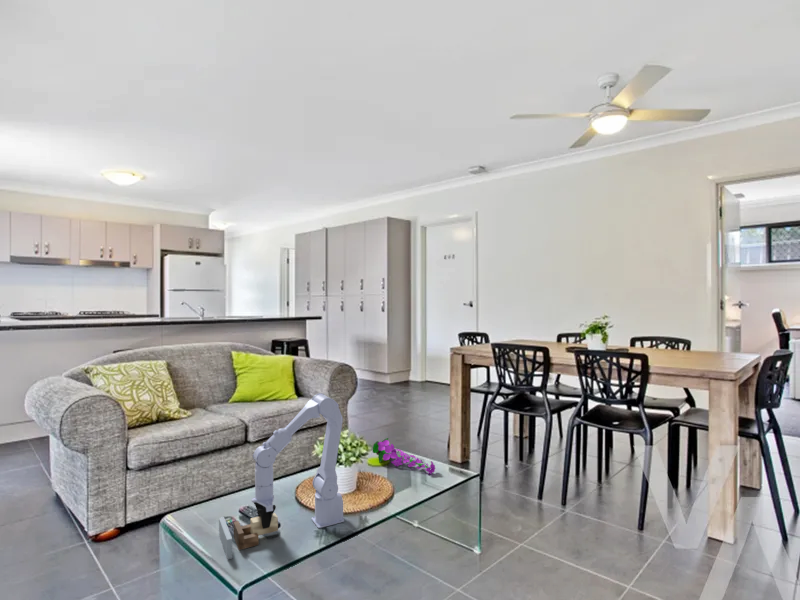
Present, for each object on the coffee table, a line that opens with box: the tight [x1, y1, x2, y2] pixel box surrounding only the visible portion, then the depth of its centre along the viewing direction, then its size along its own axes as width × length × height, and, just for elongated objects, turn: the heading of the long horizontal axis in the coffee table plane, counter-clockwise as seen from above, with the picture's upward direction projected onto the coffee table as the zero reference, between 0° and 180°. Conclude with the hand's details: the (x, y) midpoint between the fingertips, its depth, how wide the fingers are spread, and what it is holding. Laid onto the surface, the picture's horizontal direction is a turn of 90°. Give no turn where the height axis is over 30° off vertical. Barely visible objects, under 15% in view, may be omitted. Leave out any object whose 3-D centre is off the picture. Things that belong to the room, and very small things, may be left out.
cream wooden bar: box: [249, 512, 279, 537], centre depth 154 cm, size 8×4×4 cm, turn 119°
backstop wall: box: [218, 516, 233, 560], centre depth 148 cm, size 2×16×6 cm, turn 29°
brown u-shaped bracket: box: [233, 520, 260, 551], centre depth 152 cm, size 6×9×5 cm, turn 29°
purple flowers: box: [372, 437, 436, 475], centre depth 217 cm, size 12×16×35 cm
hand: (264, 524), depth 154 cm, fingers closed on cream wooden bar, 4 cm apart
